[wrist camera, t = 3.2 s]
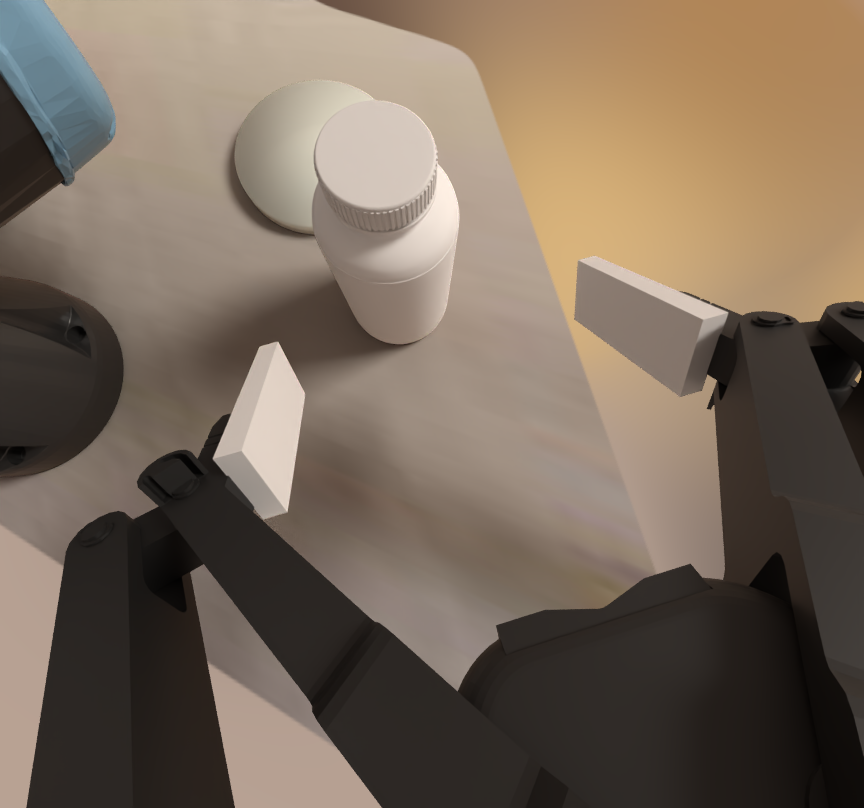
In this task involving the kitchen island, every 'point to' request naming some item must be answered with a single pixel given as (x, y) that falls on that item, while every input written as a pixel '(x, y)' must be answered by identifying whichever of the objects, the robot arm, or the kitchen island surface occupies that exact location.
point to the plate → (288, 148)
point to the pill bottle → (385, 218)
